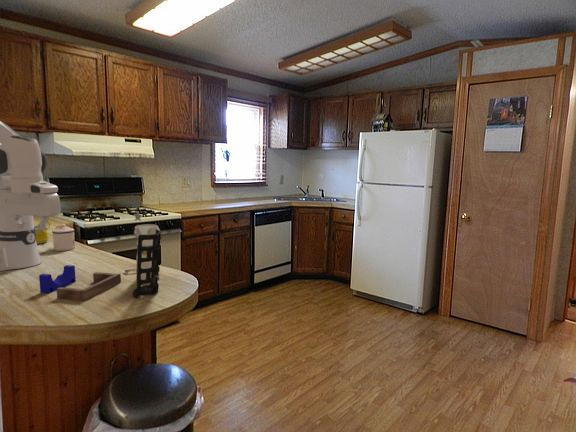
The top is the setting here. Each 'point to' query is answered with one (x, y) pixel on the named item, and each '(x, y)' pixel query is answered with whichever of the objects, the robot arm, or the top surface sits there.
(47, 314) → the top surface
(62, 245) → the teacup with lid
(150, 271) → the holder
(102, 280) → the bracket
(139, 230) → the water bottle
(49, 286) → the cable clip
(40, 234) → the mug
